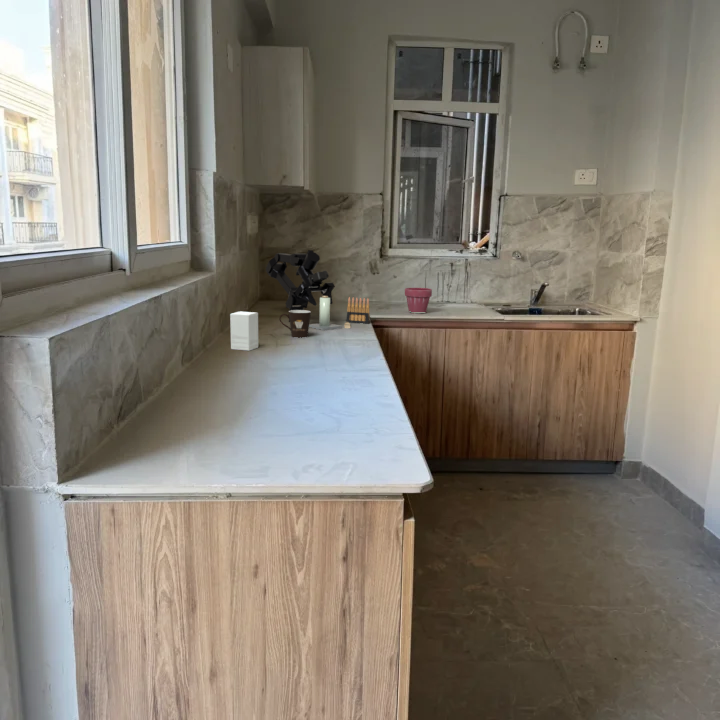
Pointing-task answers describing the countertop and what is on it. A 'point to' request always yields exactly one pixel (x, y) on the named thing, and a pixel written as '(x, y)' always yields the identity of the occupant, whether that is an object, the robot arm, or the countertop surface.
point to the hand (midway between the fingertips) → (323, 304)
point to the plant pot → (418, 298)
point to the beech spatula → (347, 325)
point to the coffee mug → (298, 322)
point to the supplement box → (244, 330)
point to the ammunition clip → (358, 311)
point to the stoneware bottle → (324, 311)
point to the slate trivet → (332, 326)
